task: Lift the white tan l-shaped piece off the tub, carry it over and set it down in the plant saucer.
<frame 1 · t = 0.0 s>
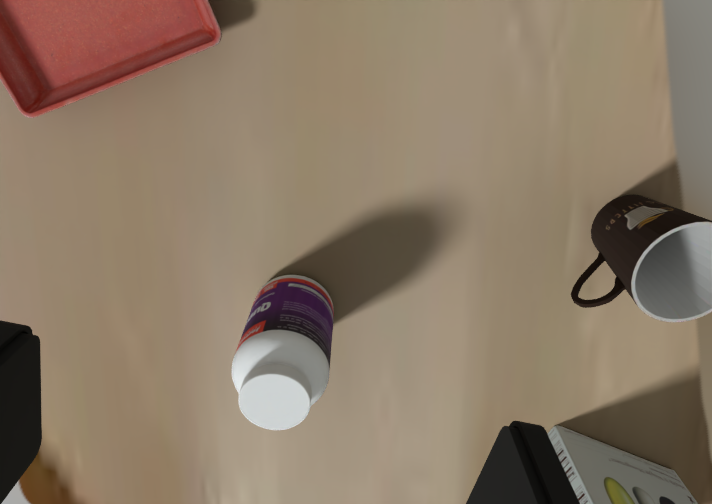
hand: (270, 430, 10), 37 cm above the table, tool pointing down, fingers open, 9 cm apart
coffee mug: (608, 227, 48), on the table
supplement box: (583, 480, 62), on the table
pill bottle: (295, 304, 52), on the table
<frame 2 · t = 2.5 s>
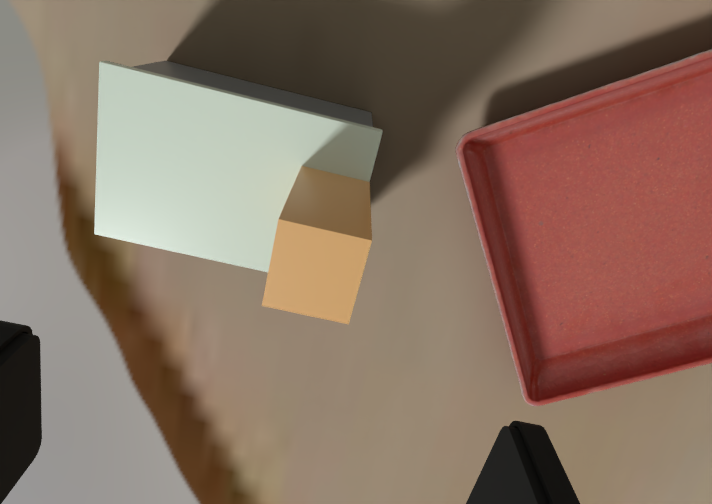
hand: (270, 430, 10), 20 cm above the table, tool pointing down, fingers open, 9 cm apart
plant saucer: (628, 219, 30), on the table
white tan l-shaped piece: (234, 181, 23), point 6 cm above the table, touching tub
tub: (259, 150, 28), on the table
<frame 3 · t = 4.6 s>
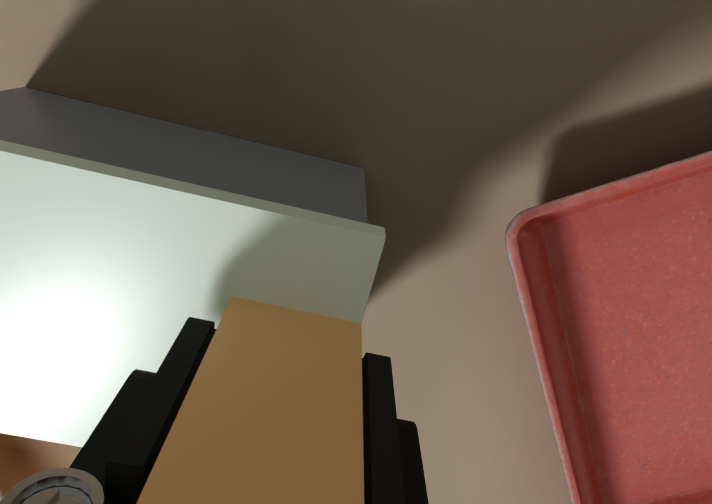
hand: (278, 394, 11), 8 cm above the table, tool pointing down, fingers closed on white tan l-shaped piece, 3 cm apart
white tan l-shaped piece: (113, 316, 12), point 6 cm above the table, touching gripper
tub: (188, 226, 18), on the table
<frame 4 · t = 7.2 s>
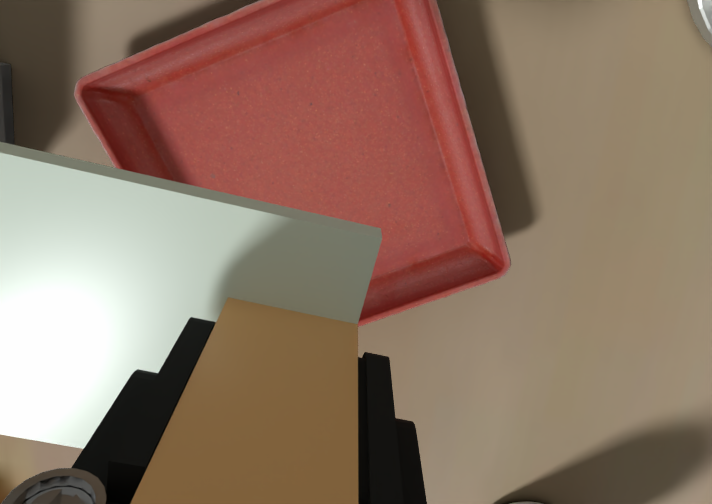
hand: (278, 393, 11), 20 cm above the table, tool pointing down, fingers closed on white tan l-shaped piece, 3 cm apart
plant saucer: (312, 171, 30), on the table
white tan l-shaped piece: (110, 317, 12), point 18 cm above the table, touching gripper
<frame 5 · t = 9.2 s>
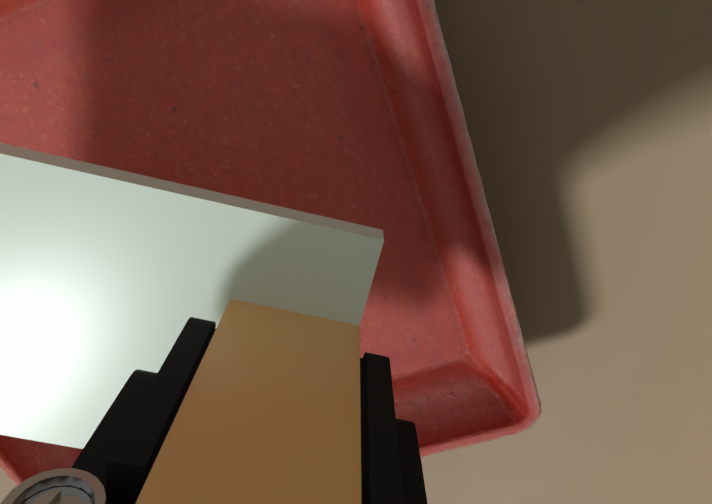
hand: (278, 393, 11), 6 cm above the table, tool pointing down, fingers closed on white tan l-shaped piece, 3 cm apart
plant saucer: (197, 224, 17), on the table
white tan l-shaped piece: (112, 318, 12), point 5 cm above the table, touching gripper
when the fingers open (5 cm above the table, at t = 10.1 s): white tan l-shaped piece stays where it is, resting on plant saucer.
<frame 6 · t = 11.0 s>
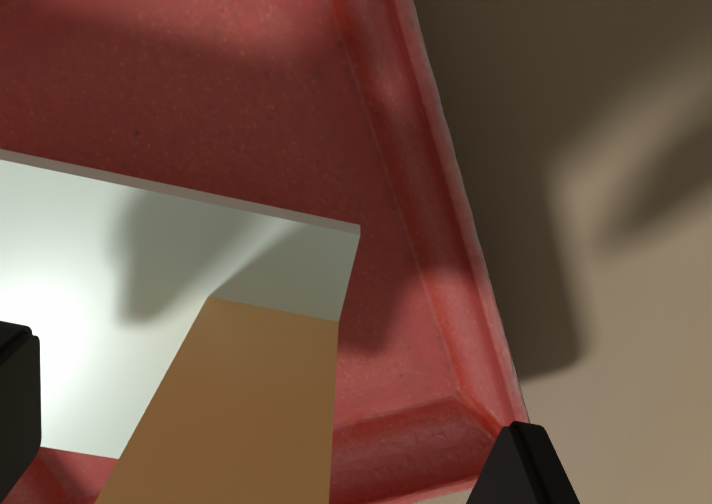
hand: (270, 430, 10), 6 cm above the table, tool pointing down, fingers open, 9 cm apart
plant saucer: (166, 253, 16), on the table, touching white tan l-shaped piece
white tan l-shaped piece: (91, 318, 12), point 3 cm above the table, touching plant saucer
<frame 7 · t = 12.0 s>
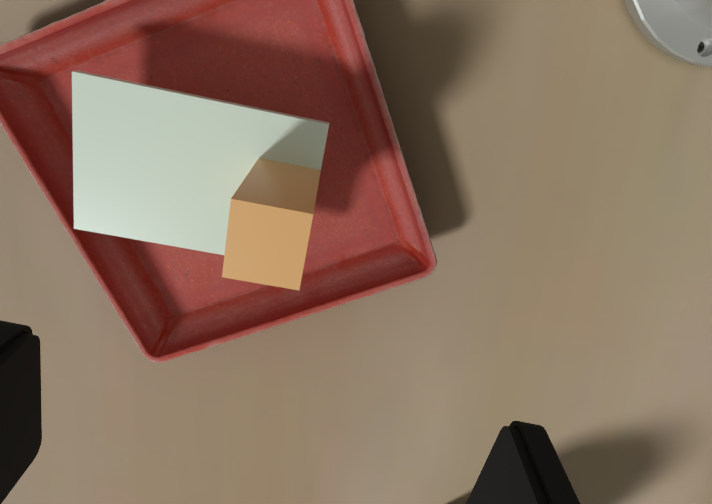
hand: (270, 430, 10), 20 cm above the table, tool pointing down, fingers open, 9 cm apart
plant saucer: (235, 161, 29), on the table, touching white tan l-shaped piece
white tan l-shaped piece: (200, 175, 25), point 3 cm above the table, touching plant saucer
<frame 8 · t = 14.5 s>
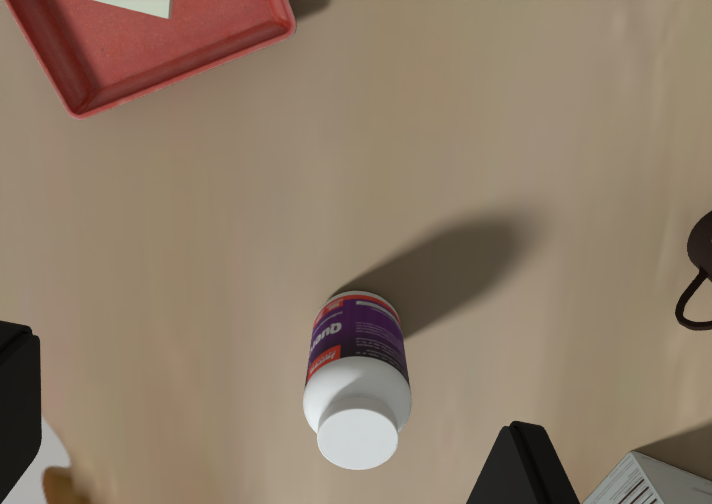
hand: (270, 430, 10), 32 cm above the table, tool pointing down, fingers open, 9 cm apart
coffee mug: (705, 239, 44), on the table
pill bottle: (357, 322, 47), on the table
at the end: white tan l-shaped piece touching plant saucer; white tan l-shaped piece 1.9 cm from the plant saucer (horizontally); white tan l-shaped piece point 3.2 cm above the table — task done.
